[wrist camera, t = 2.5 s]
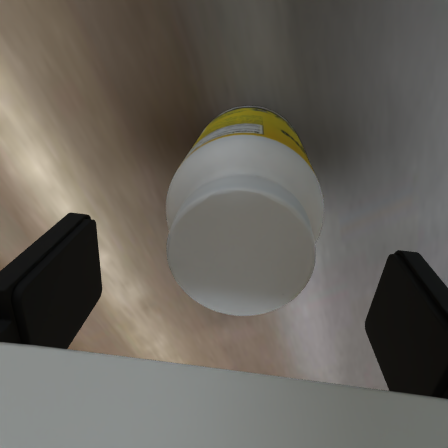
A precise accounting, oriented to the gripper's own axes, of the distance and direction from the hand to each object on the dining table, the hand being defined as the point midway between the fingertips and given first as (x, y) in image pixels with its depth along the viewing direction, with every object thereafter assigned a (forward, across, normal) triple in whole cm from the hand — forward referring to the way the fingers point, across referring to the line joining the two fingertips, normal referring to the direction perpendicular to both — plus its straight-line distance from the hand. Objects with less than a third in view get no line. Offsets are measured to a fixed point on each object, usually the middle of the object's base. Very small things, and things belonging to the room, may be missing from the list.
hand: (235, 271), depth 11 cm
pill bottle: (+11, 0, -1) cm, 11 cm away
